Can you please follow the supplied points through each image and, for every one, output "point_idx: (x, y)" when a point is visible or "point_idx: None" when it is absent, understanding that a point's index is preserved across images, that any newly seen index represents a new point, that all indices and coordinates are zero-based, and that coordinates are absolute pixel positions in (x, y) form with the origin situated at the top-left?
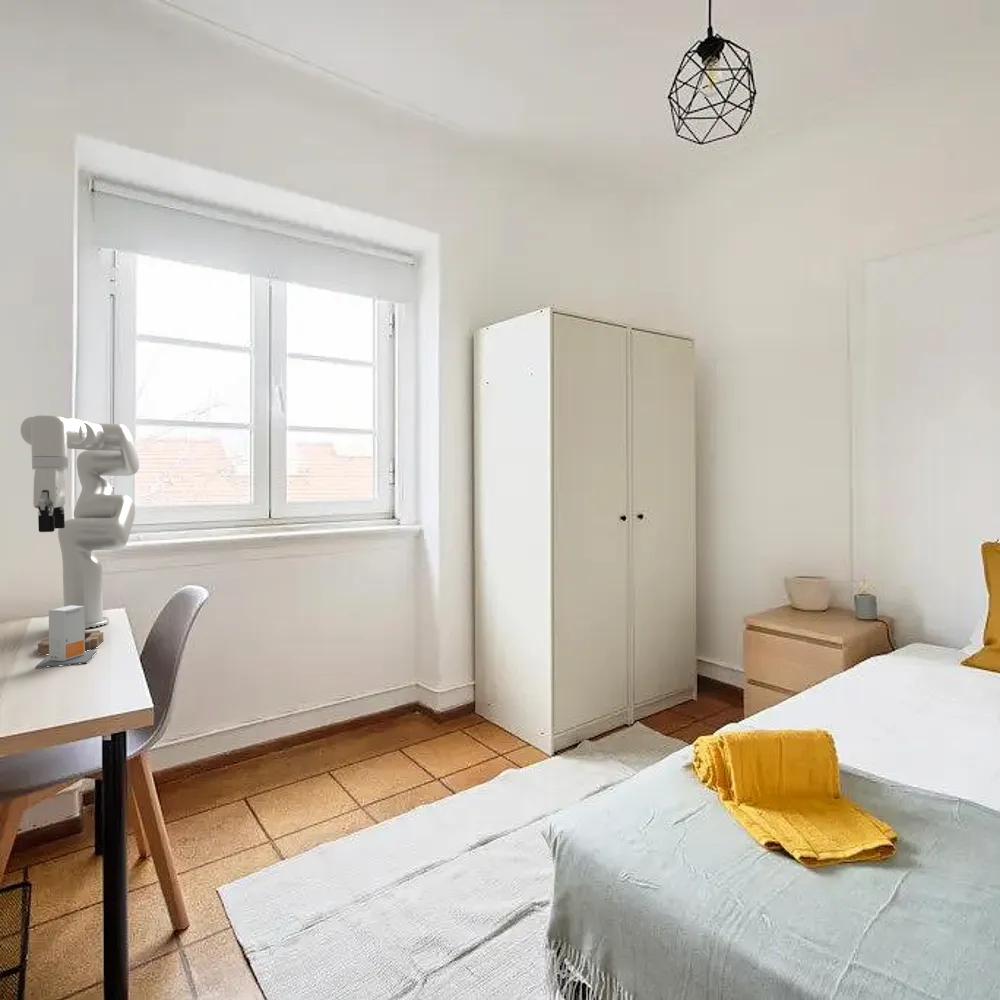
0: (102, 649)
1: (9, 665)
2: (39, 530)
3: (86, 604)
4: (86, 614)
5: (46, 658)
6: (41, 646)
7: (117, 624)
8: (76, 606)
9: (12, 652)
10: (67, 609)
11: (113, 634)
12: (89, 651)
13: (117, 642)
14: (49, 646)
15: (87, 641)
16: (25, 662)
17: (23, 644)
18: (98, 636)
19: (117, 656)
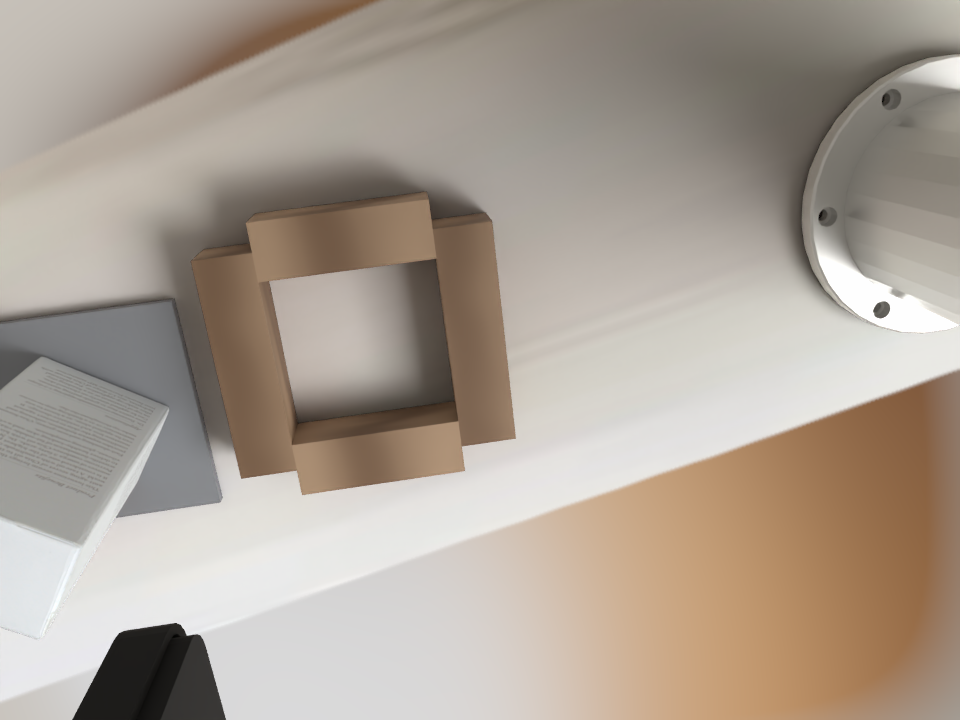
0: (284, 500)
1: (23, 166)
2: (113, 657)
3: (925, 277)
4: (882, 262)
5: (94, 321)
6: (192, 263)
7: (873, 381)
8: (22, 602)
9: (319, 50)
10: None
11: (615, 442)
12: (205, 475)
13: (420, 520)
14: (9, 383)
15: (247, 469)
16: (76, 225)
17: (511, 28)
18: (357, 483)
19: (130, 608)
